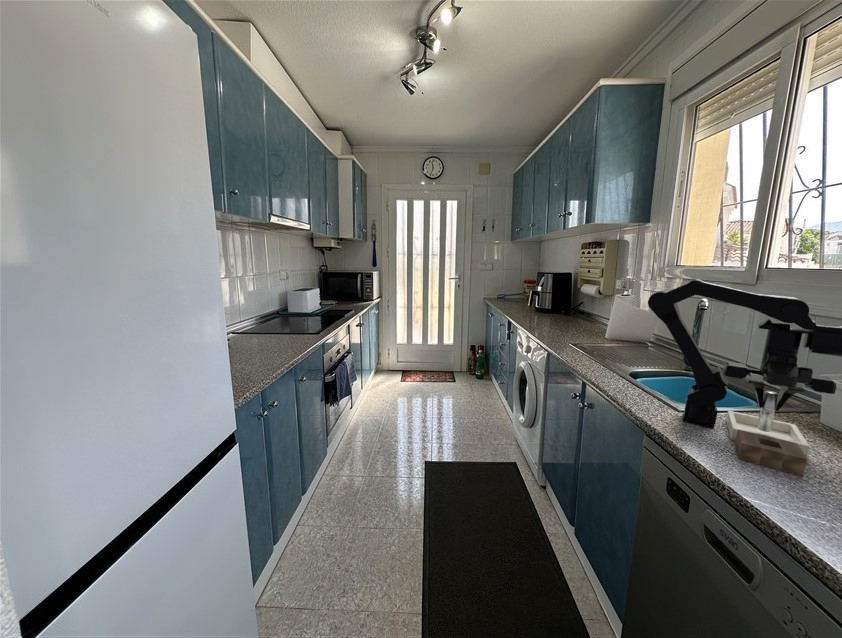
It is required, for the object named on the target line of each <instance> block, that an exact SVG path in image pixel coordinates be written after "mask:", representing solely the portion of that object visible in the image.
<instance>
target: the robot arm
mask: <svg viewBox="0 0 842 638" xmlns="http://www.w3.org/2000/svg"><path fill="white" fill-rule="evenodd" d="M694 296H699V297H703V298H707V299H712V300H716V301H720V302H724V303H727V304H731V305H735V306H740V307H743V308H747V309H751V310H754V311H756V312H758V313H761V314H763V315H765V316H767V317H770V318H772V319H774V320H777V321H779V322H782V323H779V322H773V321H772V320H771V319H770V318H767V319H766V320H764V321H763V322H761V323H758V325H757V326H758V328H759V329H760V330H767V335H766V339H765V343H764V348H763V351H762V357H761V363H760V368H759V369H755V368H750V367H748V366H747V365H746V364H745V363H740V362H733V361H727V362H725V363H724V364H723V366H724V367H723V371H722V369H721V366H717V367H713V366H712V365H711V364H710V363H709V362H708V360H707V359H706V357H705V355H704V353H703V352H702V351H701V349H700V347H699V345H698V344H697V342H696V340H695V339H694V337H693V335H692V334H691V332H690V330H689V329H688V327H687V325H686V324H685V322H684V321H683V319H682V316H681V313H680V309H679V305H678V304H677V303H680V302H682V301H684V300H686V299H689V298H692V297H694ZM647 306H648V307H649V309H650V310H651V311H652V312H653V313H654V314H655V316H656V317H657V318H658V319H659V320H660V321H661V322H662V323H663V324H664V325H665V326H666V327H667V329H668V331H669V332H670V334H671V336H672V337H673V339H674V341H675V343H676V344H677V346H678V349H680V352H681V353H682V355H683V356H684V359H685V360H686V361H687V363H688V365H689V367H690V369H691V371H692V373H693V378H694V381H695V384H693V385H691V386H690V387H689V389H688V392H687V395H686V397H685V404H684V410H683V413H682V423H683V422H684V423H687V424H692V425H695V426H701V427H704V428H708V429H714V425H716V423H717V416H718V411H719V410H718V408H717V404H716V402H719V401H722V400H724V399H725V398H726V396H727V393H728V386H729V380H728V378H727V377H729V378H734V379H741V380H742V379H744V378H745V380H746V382H747V383H749V384H752V386H753V389H754V392H755V395H756V401H757V404H758V408H760V409H761V408H762V405H763V398H764V392H765V386H766V384H765V382H764V381H763V380H764V379H766V382H767V384H769V385H772V386H780V388H779V391H778V399H777V404H776V408H775V412H779V410H780V409H781V408H782V407H783V406H784V405H785V404H786V402H787V401H788V400H789V399H790V398H791V397H793V396H794V395H795V394H797V393H805V392H806V390H805V387H806V386H809V387H810V388H811V389H812V390H813V391H814V392H818V393H824V394H831V395H836V390H837V383H836V382H835V381H834V380H832V379H831V377H828V376H827V375H821V374H814V373H813V372H814V370H813V368H811V367H810V368H809V367H805V366H803V367H802V366H798V356H799V350H800V346H801V341H802V337H803V334H804V338H803V343H802V344H803V345H802V346H803V347H802V348H804V349H808V352H809V353H810V354H815V355H816V354H817V355H825V356H832V357H839V358H842V325H841V326H832V325H820V324H817V323H816V321H815V320H814V319H812V318H811V317H810V316H809V313H810V307H809V306H808V304H807V303H806V302H805V301H803V300H802V299H799V298H797V297H793V296H788V295H787V296H784V295H775V294H774V295H773V294H762V293H755V292H749V291H745V290H741V289H736V288H733V287H729V286H725V285H719V284H714V283H710V282H707V281H706V282H705V281H703V280H701V279H692V280H691V281H688V283H686V284H684V285H683V284H682V285H681V286H678V287H676V288H674V289H672V290H669V291H667V290H659V291H657V292H656V291H655V292H654V293H653V294H651V295H650V296H649V297H648V300H647ZM790 324H795V325H796V326H798V327H799V328H794V327H791V325H790Z"/></svg>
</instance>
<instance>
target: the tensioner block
mask: <svg viewBox="0 0 842 638" xmlns="http://www.w3.org/2000/svg"><path fill="white" fill-rule="evenodd" d="M734 441H735V440H734ZM734 446H735V449H736V454H737V457H738V460H740V461H743V462H747V463H751V464H755V465H758V466H762V467H766V468H770V469H773V470H776V471H780V472H785V473H788V474H791V475H796V476H799V477H802V478H803V477H804V475H805V471H806V466H807V462H808V457H807V458H806V457H805V455H804V453H803V452H802V450H801V448H800V447H799V445H798V443H794V442H790V441H786V440H782V439H777V438H773V437H769V436H764V435H760V434H756V433H752V432H747V431H743V430H739V429H738V431H737V436H736V441H735V442H734Z"/></svg>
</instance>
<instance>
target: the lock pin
mask: <svg viewBox="0 0 842 638" xmlns="http://www.w3.org/2000/svg"><path fill="white" fill-rule="evenodd" d="M778 394H779V392H776V391H770V390H764V392H763V405H762V408H760V413H759V416H758V417H759V422H758V427H757V429H759V430H761V431H765V432H770V431H771V426H772V422H773V420H774V418H775V417H774V416H775V412H776V410H775V408H776V404H777V399H778Z"/></svg>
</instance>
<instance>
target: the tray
mask: <svg viewBox="0 0 842 638" xmlns="http://www.w3.org/2000/svg"><path fill="white" fill-rule="evenodd" d="M759 417H760V416H756V415H751V414H747V413H742V412H737V411H731V410H727V415H726V420H725V421H726V425H727V429H728V433H729V437H730V440H732V441H736V436H737V431H738V429H739V430H743V431H747V432H752V433H756V434H760V435H764V436H769V437H773V438H777V439H782V440H786V441H790V442H794V443H798V445H799V447H800V448H801V450H802V452H803V453H804V455H805V457H806V458H807V459H808V455H809V454H808V453H809V450H810V445H809V443H808V442H807V440H806V439H805V437H804V436H803V434H802V433H801V431H800V430H799V428H798V427H797V425H796V424H793V423H788V422H786V421H779V420H775V419H773V422H772V426H771V431H770V432H765V431H761V430H759V429H757V427H758V422H759Z"/></svg>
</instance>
